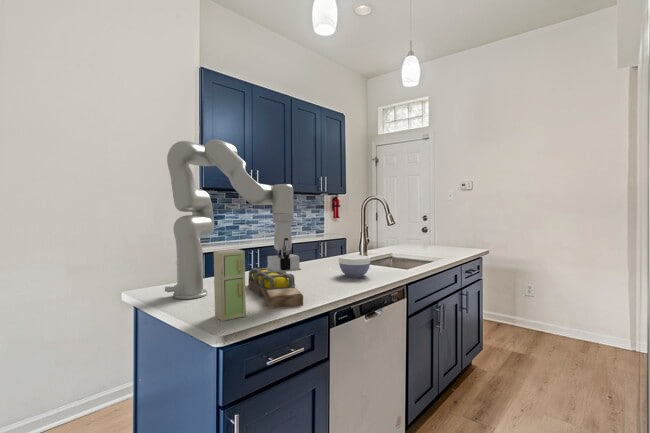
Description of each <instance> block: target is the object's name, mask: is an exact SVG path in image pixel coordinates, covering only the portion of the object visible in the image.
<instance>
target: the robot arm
mask: <svg viewBox="0 0 650 433" xmlns="http://www.w3.org/2000/svg"><path fill="white" fill-rule="evenodd" d="M166 156H167V158H166V163H167V169H168V171H169V176H170V181H171V189H172V190H171V191H172V198H173V204H174V206H175V209H177V211H179V212H182V213H183V212H184V213H192V214H186V215H182V216H180V217H178V218H177V219H176V220H175V222H174V223H173V226H172V228H173V234H174V239H175V246H176V247H175V248H176V284H175V285H173V286H171V285H170V286H164V292H167V293H173V294H172V297H173V298H174V299H177V300H192V299H193V300H194V299H198V298H203V297H205V296H207V295H208V290H207V289H205V288H204V255H203V254H204V253H203V246H202V243H201V241H200V239H202V238H207V237H209V236H211V235H213V232H214V230H215V218H214V210H213V204H212V200H211V196H210V194H209V193H208V192H207V191H206V190H204V189H200V188H196V183H195V177H194V174H193V172H192V170H191V167H190V165H193V166H199V167H217V168H218V169H219V170H220V171H221V172H222V173H223V174H224V175H225V176H226V177H227V178H228V180H229V182H230V184H231V186H232V187H233V189H234V190H235V191H236V192H237V193H238V194H239V195H240V196H241V197H242V198H243V199H244V200H245V201H247V202H248V203H249V204H251V205H253V206H254V205H255V206H257V205H258V206H260V205H261V206H270V205H271V206H272V207H271V208H272V224H274V231H273V232H274V233H273V234H274V235H273V236H274V240H273V249H275V250H276V251H277V255H282V259H281V270H290V254H291V253H290V252H291V250H292V246H293V238H292V236H293V234H292V223H295V222H294V216H295V215H294V212H295V211H294V210H295V209H294V187H293V185H292V184H290V183H289V184H288V183H285V184H284V183H282V184H281V183H278V184H274V185H270V184H264V183H259V182H257V181H256V180H255V179H254V178H253V177H252V176H251V175H250V174H249V173H248V172H247V170H246V169H247V168H246V167H247V163H246V161H245V160H244V159H243V158H241V157H240V155H238V150H237V148H236V146H234V145H233V144H232V143H230V142H227V141H223V140H222V139H221V140H220V139H217V138H216V139H215V138H214V139H210V140H208V141H207V142H206V143H205V144H201V143H200V144H199V143H196V142H193V141H190V140H189V141H188V140H180V141H179V140H178V141H176V142H175V143H174V144H172V145H171V146H170V149H169V150H168V153H167V155H166Z"/></svg>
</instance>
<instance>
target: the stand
mask: <svg viewBox="0 0 650 433" xmlns="http://www.w3.org/2000/svg"><path fill="white" fill-rule="evenodd" d="M264 300H265V303H266V305H267V306H268V309H275V308H284V307H285V308H286V307H295V306H298V307H299V306H304V294H302V292H301V291H300V290H298V288H297V287H295V288H288V289H275V290H266V292H265V298H264Z"/></svg>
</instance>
